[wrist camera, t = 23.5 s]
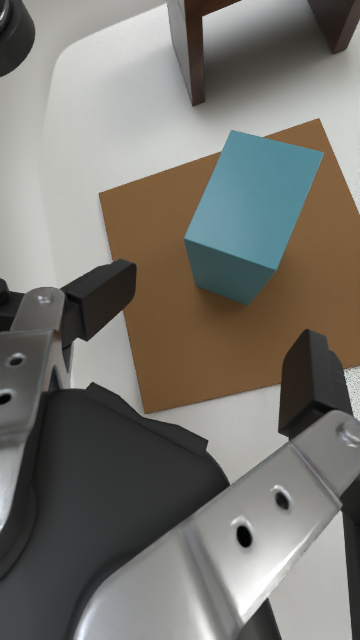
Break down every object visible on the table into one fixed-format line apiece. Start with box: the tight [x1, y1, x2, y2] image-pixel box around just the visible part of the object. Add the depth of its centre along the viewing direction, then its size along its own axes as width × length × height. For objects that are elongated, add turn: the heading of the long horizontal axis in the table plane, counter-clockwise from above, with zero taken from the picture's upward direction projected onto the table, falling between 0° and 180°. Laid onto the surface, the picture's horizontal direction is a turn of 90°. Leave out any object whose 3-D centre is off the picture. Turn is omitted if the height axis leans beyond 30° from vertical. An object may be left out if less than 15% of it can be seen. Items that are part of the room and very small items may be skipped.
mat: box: [99, 118, 360, 414], centre depth 19 cm, size 20×20×1 cm
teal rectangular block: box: [184, 130, 324, 306], centre depth 14 cm, size 4×6×8 cm
